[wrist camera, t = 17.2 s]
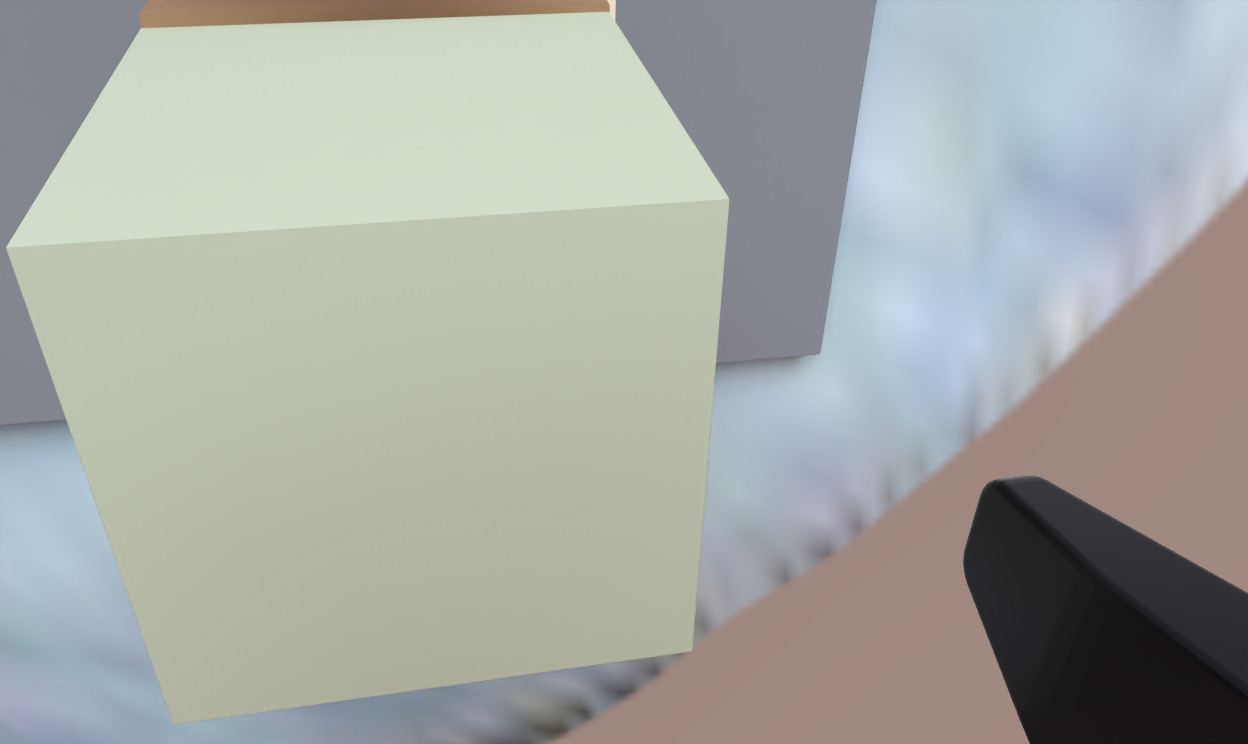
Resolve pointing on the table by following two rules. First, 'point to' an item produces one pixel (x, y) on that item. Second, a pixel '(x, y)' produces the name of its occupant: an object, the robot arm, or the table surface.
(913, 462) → the table surface
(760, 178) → the gray flat panel
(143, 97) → the sage block
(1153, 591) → the robot arm
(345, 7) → the walnut block
